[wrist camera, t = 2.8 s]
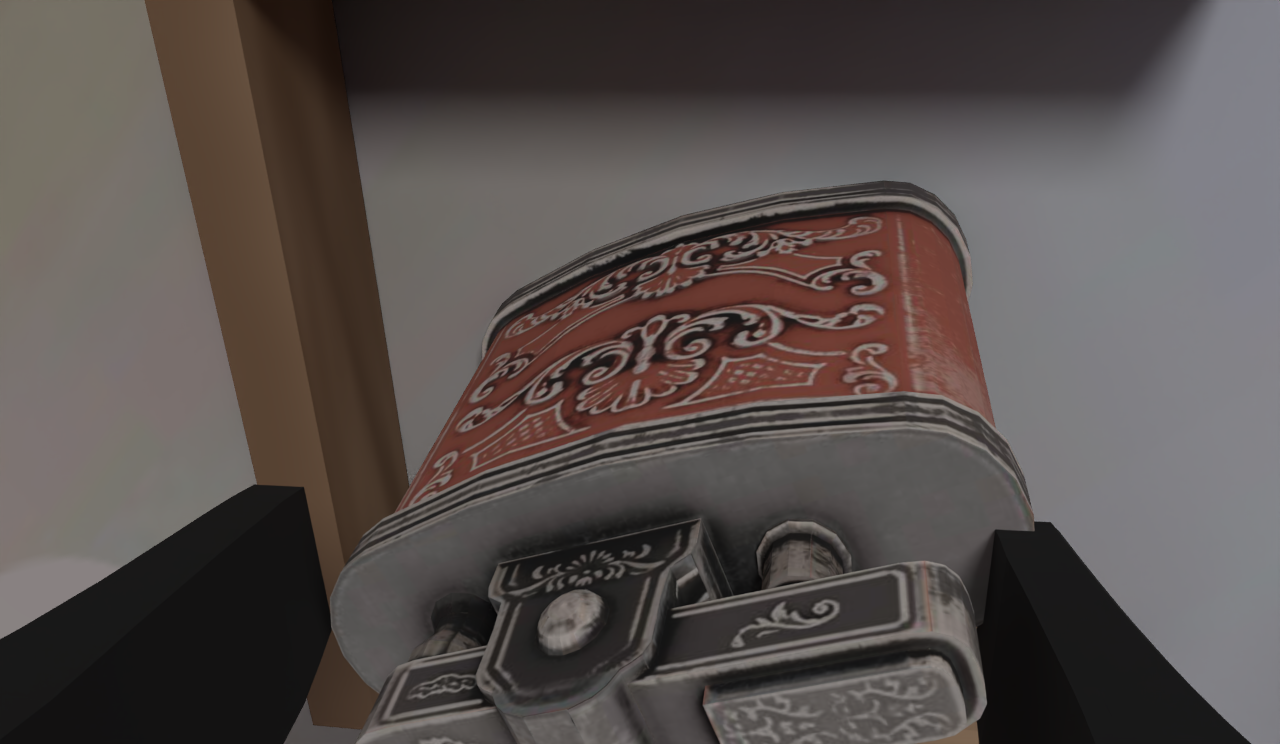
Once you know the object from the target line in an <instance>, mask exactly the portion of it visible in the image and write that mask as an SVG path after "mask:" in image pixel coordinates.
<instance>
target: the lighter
mask: <svg viewBox="0 0 1280 744" xmlns="http://www.w3.org/2000/svg"><path fill="white" fill-rule="evenodd" d="M972 285H973V281H972V270H971V260H970V253H969V249H968V245H967V241H966V238H965V236H964V234H963V232H962V230H961V228H960V225H959V223H958V221H957V219H956V217H955V215H954V214H953V213H952V212H951V211H950V210H949V209H948V208H947V206H946V205H945V204H944V203H943V202H942V201H941V200H940V199H939V198H938V197H937V196H936V195H935V194H932V193H930V192H928V191H926V190H924V189H922V188H920V187H918V186H916V185H914V184H911V183H906V182H894V181H877V182H868V183H859V184H851V185H842V186H833V187H825V188H816V189H807V190H798V191H790V192H782V193H777V194H773V195H769V196H765V197H760V198H756V199H752V200H747V201H743V202H739V203H734V204H730V205H726V206H721V207H717V208H713V209H708V210H704V211H700V212H696V213H691V214H687V215H683V216H680V217H677V218H675V219H672V220H670V221H667V222H664V223H662V224H659V225H657V226H654V227H651V228H649V229H646V230H644V231H641V232H638V233H636V234H633V235H631V236H628V237H625V238H623V239H620V240H618V241H615V242H612V243H610V244H607V245H605V246H602V247H599V248H597V249H594V250H592V251H590V252H588V253H586V254H584V255H583V256H581V257H579V258H577V259H575V260H573V261H571V262H569V263H568V264H566V265H564V266H562V267H560V268H558V269H556V270H554V271H553V272H551V273H549V274H547V275H545V276H543V277H541V278H539V279H538V280H536V281H534V282H532V283H530V284H528V285H526V286H524V287H523V288H521V289H519V290H517V291H516V292H515V293H514V294H512V295H511V296H510V297H509V298H508V299H507V300H506V301H505V302H503V303H502V304H501V306H500V308H499V309H498V311H497V313H496V314H495V316H494V318H493V319H492V321H491V323H490V326H489V328H488V330H487V332H486V335H485V337H484V339H483V344H482V362H481V364H480V365H479V367H478V369H477V371H476V372H475V374H474V376H473V377H472V379H471V381H470V383H469V384H468V386H467V388H466V390H465V391H464V393H463V395H462V397H461V398H460V400H459V402H458V404H457V405H456V407H455V409H454V410H453V412H452V414H451V416H450V417H449V419H448V421H447V423H446V424H445V426H444V428H443V430H442V431H441V433H440V435H439V436H438V438H437V440H436V442H435V443H434V445H433V447H432V449H431V450H430V452H429V454H428V456H427V457H426V459H425V461H424V462H423V464H422V466H421V468H420V469H419V471H418V473H417V475H416V476H415V478H414V480H413V482H412V483H411V485H410V487H409V488H408V490H407V492H406V494H405V495H404V497H403V499H402V501H401V502H400V504H399V506H398V508H397V509H396V511H395V513H394V514H392V515H389V516H387V517H385V518H383V519H382V520H381V521H380V522H378V523H377V524H376V525H375V526H373V527H372V528H371V529H370V530H368V531H367V532H366V533H365V534H364V535H363V536H362V538H361V540H360V541H359V543H358V545H357V546H356V548H355V550H354V551H353V553H352V555H351V556H350V558H349V560H348V561H347V563H346V565H345V566H344V568H343V570H342V571H341V573H340V575H339V577H338V580H337V582H336V585H335V587H334V589H333V592H332V594H331V596H330V611H331V627H332V630H333V632H334V635H335V637H336V639H337V642H338V644H339V646H340V649H341V651H342V653H343V656H344V657H345V659H346V660H347V661H348V662H349V664H350V665H351V666H352V667H353V668H354V670H355V671H356V672H357V673H358V675H359V676H360V677H361V678H362V680H363V681H364V682H365V683H366V684H367V685H368V686H370V687H371V688H372V689H374V690H375V691H376V692H378V693H379V696H378V698H377V700H376V702H375V704H374V706H373V708H372V710H371V712H370V714H369V716H368V718H367V720H366V723H365V725H364V727H363V729H362V731H361V733H360V735H359V737H358V739H357V741H356V743H355V744H916V743H922V742H929V741H935V740H939V739H943V738H947V737H951V736H954V735H956V734H958V733H959V732H961V731H962V730H963V729H965V728H966V727H968V726H969V725H971V724H972V723H974V722H975V721H977V720H978V719H980V718H981V716H982V713H983V711H984V709H985V707H986V705H987V699H986V690H985V682H984V675H983V669H982V662H981V655H980V649H979V642H978V635H977V629H976V627H977V626H979V625H981V624H983V620H984V612H985V604H986V597H987V589H988V581H989V574H990V566H991V558H992V551H993V543H994V535H995V529H998V530H1017V531H1035V529H1034V516H1033V511H1032V507H1031V503H1030V498H1029V494H1028V490H1027V486H1026V482H1025V478H1024V474H1023V472H1022V470H1021V468H1020V465H1019V463H1018V461H1017V459H1016V457H1015V455H1014V453H1013V451H1012V449H1011V447H1010V445H1009V443H1008V441H1007V439H1006V438H1005V437H1004V436H1003V435H1002V434H1001V433H1000V432H999V431H998V430H997V429H996V427H995V423H994V418H993V414H992V409H991V405H990V400H989V396H988V391H987V387H986V382H985V377H984V373H983V368H982V364H981V359H980V355H979V350H978V346H977V341H976V337H975V332H974V328H973V323H972V319H971V314H970V310H969V305H968V300H969V297H970V293H971V289H972Z"/></svg>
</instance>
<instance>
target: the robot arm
mask: <svg viewBox="0 0 1280 744" xmlns="http://www.w3.org/2000/svg"><path fill="white" fill-rule="evenodd" d="M1034 529H1035V531H1017V530H998V529H995V535H994V543H993V551H992V558H991V566H990V574H989V581H988V589H987V597H986V604H985V612H984V620H983V624H981V625H979V626H977V635H978V642H979V649H980V655H981V662H982V669H983V675H984V682H985V690H986V699H987V705H986V707H985V709H984V711H983V713H982V716H981V718H980V719H978V720H977V729H978V739H979V744H1251V743H1250V742H1249V741H1248V740H1247V739H1245V738H1244V737H1243V736H1242V735H1241V734H1240V733H1239V732H1238V731H1237V730H1236V729H1234V728H1233V727H1232V726H1231V725H1230V724H1229V723H1228V722H1227V721H1226V720H1225V719H1224V718H1223V717H1222V716H1221V715H1220V714H1219V713H1218V712H1217V711H1216V710H1215V709H1214V708H1213V707H1212V706H1211V705H1210V704H1209V703H1208V702H1207V701H1206V700H1205V699H1204V698H1203V697H1202V696H1201V695H1199V694H1198V693H1197V692H1196V691H1195V690H1194V689H1193V688H1192V687H1191V685H1190V684H1189V683H1188V682H1187V681H1186V680H1185V679H1184V678H1183V677H1182V676H1181V675H1180V674H1179V673H1178V672H1177V671H1176V670H1175V669H1174V668H1173V666H1172V665H1171V664H1170V663H1169V662H1168V661H1167V660H1166V659H1165V658H1164V657H1163V655H1162V654H1161V653H1160V652H1159V651H1158V650H1157V649H1156V648H1155V647H1154V645H1153V644H1152V643H1151V642H1150V641H1149V640H1148V639H1147V638H1146V636H1145V635H1144V634H1143V633H1142V632H1141V631H1140V630H1139V629H1138V628H1137V626H1136V625H1135V624H1134V623H1133V622H1132V621H1131V620H1130V618H1129V617H1128V616H1127V615H1126V614H1125V613H1124V611H1123V610H1122V609H1121V608H1120V607H1119V605H1118V604H1117V603H1116V602H1115V601H1114V599H1113V598H1112V597H1111V596H1110V595H1109V593H1108V592H1107V591H1106V590H1105V588H1104V587H1103V586H1102V585H1101V584H1100V582H1099V581H1098V580H1097V579H1096V577H1095V576H1094V575H1093V574H1092V572H1091V571H1090V570H1089V569H1088V567H1087V566H1086V565H1085V564H1084V562H1083V561H1082V560H1081V559H1080V557H1079V556H1078V555H1077V554H1076V552H1075V551H1074V550H1073V548H1072V547H1071V546H1070V545H1069V543H1068V542H1067V541H1066V540H1065V538H1064V537H1063V536H1062V535H1061V533H1060V532H1059V531H1058V530H1057V529H1056V528H1055V527H1054V526H1053V524H1052V523H1051V522H1034ZM331 631H332V627H331V614H330V609H329V604H328V600H327V595H326V590H325V585H324V580H323V576H322V571H321V566H320V561H319V556H318V552H317V547H316V542H315V537H314V532H313V528H312V523H311V518H310V513H309V508H308V504H307V499H306V494H305V489H304V487H296V486H275V485H253V486H251V487H249V488H247V489H245V490H243V491H242V492H240V493H238V494H236V495H234V496H233V497H231V498H229V499H228V500H226V501H224V502H223V503H221V504H220V505H218V506H216V507H215V508H213V509H212V510H210V511H208V512H207V513H205V514H204V515H202V516H201V517H199V518H197V519H196V520H194V521H193V522H191V523H190V524H188V525H187V526H185V527H184V528H182V529H180V530H179V531H177V532H176V533H174V534H173V535H171V536H170V537H168V538H167V539H165V540H164V541H162V542H160V543H159V544H157V545H156V546H154V547H153V548H151V549H150V550H148V551H146V552H145V553H143V554H142V555H140V556H139V557H137V558H136V559H134V560H132V561H131V562H129V563H128V564H126V565H125V566H123V567H121V568H120V569H118V570H117V571H115V572H114V573H112V574H111V575H109V576H107V577H106V578H104V579H103V580H101V581H99V582H98V583H96V584H94V585H93V586H91V587H89V588H88V589H86V590H84V591H83V592H81V593H79V594H77V595H76V596H74V597H72V598H71V599H69V600H68V601H66V602H64V603H63V604H61V605H59V606H57V607H56V608H54V609H52V610H50V611H49V612H47V613H45V614H44V615H42V616H40V617H39V618H37V619H35V620H34V621H32V622H30V623H29V624H27V625H25V626H24V627H22V628H20V629H18V630H16V631H15V632H13V633H11V634H9V635H8V636H6V637H4V638H2V639H0V744H283V743H284V741H285V740H286V738H287V736H288V734H289V732H290V730H291V728H292V726H293V725H294V723H295V721H296V719H297V717H298V715H299V713H300V711H301V709H302V707H303V705H304V703H305V701H306V698H307V696H308V693H309V691H310V688H311V685H312V683H313V680H314V678H315V675H316V673H317V670H318V667H319V665H320V662H321V659H322V656H323V653H324V650H325V648H326V645H327V642H328V639H329V636H330V633H331Z"/></svg>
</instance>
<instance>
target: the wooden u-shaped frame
mask: <svg viewBox="0 0 1280 744" xmlns="http://www.w3.org/2000/svg"><path fill="white" fill-rule="evenodd" d="M145 4H146V8H147V13H148V17H149V21H150V25H151V30H152V34H153V38H154V43H155V47H156V51H157V56H158V60H159V64H160V68H161V73H162V77H163V81H164V86H165V90H166V94H167V98H168V103H169V107H170V111H171V116H172V120H173V124H174V129H175V133H176V137H177V141H178V146H179V150H180V154H181V159H182V163H183V167H184V172H185V176H186V180H187V184H188V189H189V193H190V197H191V202H192V206H193V210H194V214H195V219H196V223H197V227H198V232H199V236H200V240H201V245H202V249H203V253H204V257H205V262H206V266H207V270H208V275H209V279H210V283H211V288H212V292H213V296H214V300H215V305H216V309H217V313H218V318H219V322H220V326H221V330H222V335H223V339H224V343H225V348H226V352H227V356H228V361H229V365H230V369H231V373H232V378H233V382H234V386H235V391H236V395H237V399H238V404H239V408H240V412H241V416H242V421H243V425H244V429H245V434H246V438H247V442H248V446H249V451H250V455H251V459H252V464H253V468H254V472H255V477H256V481H257V485H275V486H296V487H304V489H305V494H306V499H307V504H308V508H309V513H310V518H311V523H312V528H313V532H314V537H315V542H316V547H317V552H318V556H319V561H320V566H321V571H322V576H323V580H324V585H325V590H326V595H327V600H328V604H329V609H330V596H331V594H332V592H333V589H334V587H335V585H336V582H337V580H338V577H339V575H340V573H341V571H342V570H343V568H344V566H345V565H346V563H347V561H348V560H349V558H350V556H351V555H352V553H353V551H354V550H355V548H356V546H357V545H358V543H359V541H360V540H361V538H362V536H363V535H364V534H365V533H366V532H367V531H368V530H370V529H371V528H372V527H373V526H375V525H376V524H377V523H378V522H380V521H381V520H382V519H383V518H385V517H387V516H389V515H392V514H394V513H395V511H396V509H397V508H398V506H399V504H400V502H401V501H402V499H403V497H404V495H405V494H406V492H407V490H408V488H409V483H408V477H407V471H406V464H405V458H404V452H403V445H402V439H401V433H400V427H399V420H398V414H397V408H396V401H395V395H394V389H393V383H392V376H391V370H390V364H389V357H388V351H387V345H386V338H385V332H384V326H383V320H382V313H381V307H380V301H379V294H378V288H377V282H376V276H375V269H374V263H373V257H372V250H371V244H370V238H369V232H368V225H367V219H366V213H365V206H364V200H363V194H362V188H361V181H360V175H359V169H358V162H357V156H356V150H355V143H354V137H353V131H352V125H351V118H350V112H349V106H348V99H347V93H346V87H345V81H344V74H343V68H342V62H341V55H340V49H339V43H338V37H337V30H336V24H335V18H334V11H333V5H332V0H145ZM330 614H331V611H330ZM976 629H977V627H976ZM378 696H379V693H378V692H376V691H375V690H374V689H372V688H371V687H370V686H368V685H367V684H366V683H365V682H364V681H363V680H362V678H361V677H360V676H359V675H358V673H357V672H356V671H355V670H354V668H353V667H352V666H351V665H350V664H349V662H348V661H347V660H346V659H345V657H344V656H343V653H342V651H341V649H340V646H339V644H338V642H337V639H336V637H335V635H334V632H333V630H332V631H331V633H330V636H329V639H328V642H327V645H326V648H325V650H324V653H323V656H322V659H321V662H320V665H319V667H318V670H317V673H316V675H315V678H314V680H313V683H312V685H311V688H310V691H309V693H308V696H307V700H308V704H309V709H310V713H311V717H312V721H313V725H318V726H329V727H340V728H351V729H363V727H364V725H365V723H366V720H367V718H368V716H369V714H370V712H371V710H372V708H373V706H374V704H375V702H376V700H377V698H378ZM916 744H979V739H978V729H977V721H975V722H974V723H972V724H971V725H969V726H968V727H966V728H965V729H963V730H962V731H961V732H959V733H958V734H956V735H954V736H951V737H947V738H943V739H939V740H935V741H929V742H922V743H916Z"/></svg>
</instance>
